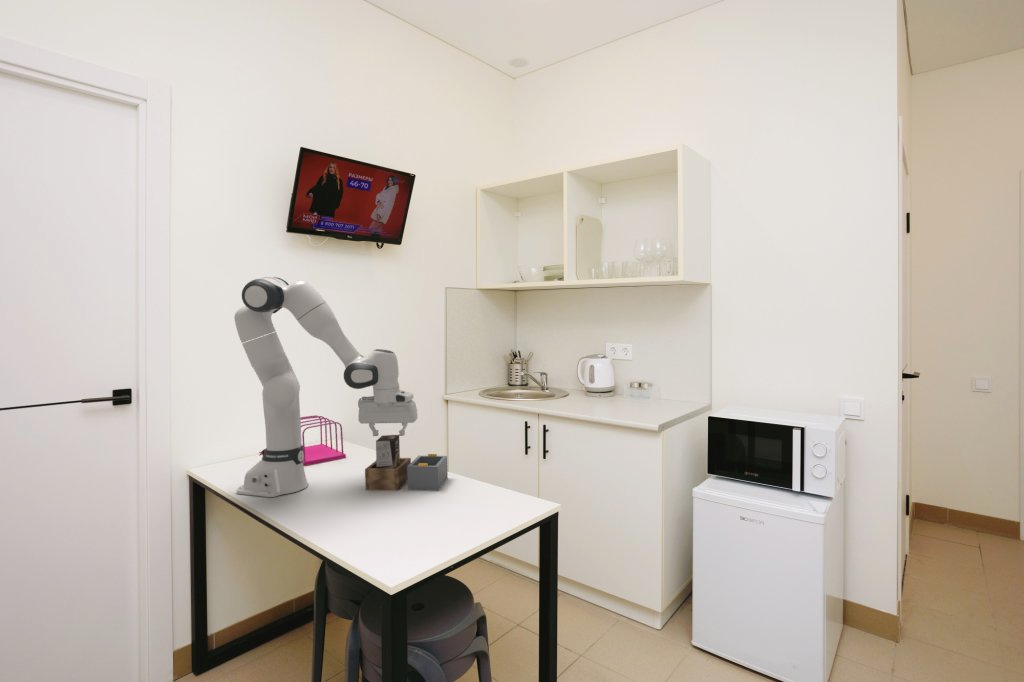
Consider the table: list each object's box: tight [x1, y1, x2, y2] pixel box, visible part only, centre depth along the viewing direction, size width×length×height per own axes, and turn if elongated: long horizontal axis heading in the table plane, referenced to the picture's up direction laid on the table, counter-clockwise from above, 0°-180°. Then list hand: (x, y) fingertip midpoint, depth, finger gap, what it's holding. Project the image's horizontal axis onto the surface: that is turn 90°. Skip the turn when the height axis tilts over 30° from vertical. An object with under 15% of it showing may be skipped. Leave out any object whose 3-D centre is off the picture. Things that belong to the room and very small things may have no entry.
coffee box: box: [375, 434, 401, 469], centre depth 184 cm, size 9×6×16 cm
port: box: [407, 453, 449, 492], centre depth 183 cm, size 10×13×9 cm
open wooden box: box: [364, 457, 412, 491], centre depth 184 cm, size 11×14×7 cm
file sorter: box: [300, 415, 347, 467], centre depth 222 cm, size 17×25×16 cm
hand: (388, 435), depth 184 cm, fingers open, 8 cm apart
